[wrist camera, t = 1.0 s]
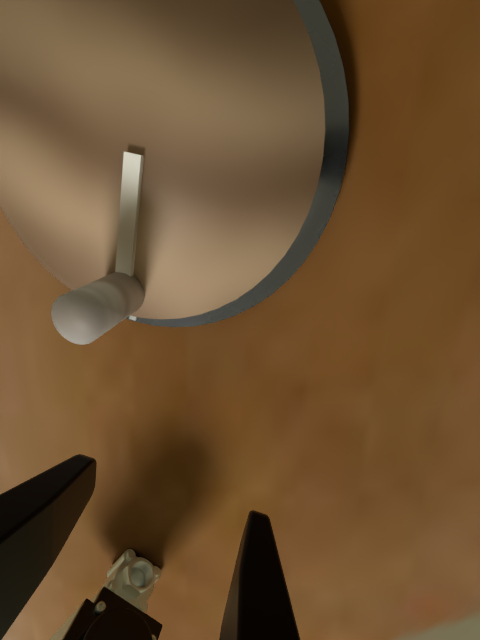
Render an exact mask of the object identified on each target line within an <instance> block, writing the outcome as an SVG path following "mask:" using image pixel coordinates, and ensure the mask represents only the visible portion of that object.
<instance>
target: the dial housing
mask: <svg viewBox="0 0 480 640" xmlns="http://www.w3.org/2000/svg"><path fill="white" fill-rule="evenodd" d="M293 2H294V3H295V5H296V7H297V9H298V11H299V13H300V15H301V18H302V20H303V22H304V25H305V27H306V29H307V31H308V34H309V36H310V39H311V42H312V46H313V49H314V53H315V56H316V59H317V63H318V66H319V71H320V77H321V83H322V89H323V96H324V110H325V140H324V152H323V161H322V166H321V171H320V176H319V181H318V186H317V189H316V192H315V195H314V198H313V201H312V204H311V207H310V210H309V213H308V215H307V217H306V219H305V221H304V223H303V225H302V227H301V229H300V231H299V234H298V235H297V237H296V239H295V240H294V242H293V243H292V245H291V246H290V248H289V249H288V251H287V252H286V254H285V256H284V257H283V258H282V259H281V260H280V261H279V263H278V264H277V265H276V266H275V267H274V268H273V270H272V271H271V272H270V273H269V274H268V275H267V276H266V277H265V278H264V279H262V280H261V281H260V282H259V283H258V284H257V285H256V286H255V287H254V288H252V289H251V290H249V291H248V292H246V293H245V294H243V295H242V296H240V297H239V298H237V299H236V300H234V301H232V302H230V303H228V304H226V305H224V306H222V307H220V308H218V309H215V310H212V311H209V312H206V313H203V314H200V315H196V316H190V317H185V318H179V319H149V318H139V317H135V316H128V317H127V318H126V319H129V320H132V321H135V322H140V323H145V324H150V325H155V326H167V327H186V326H197V325H203V324H208V323H214V322H217V321H220V320H223V319H226V318H229V317H232V316H235V315H237V314H239V313H241V312H243V311H245V310H247V309H249V308H251V307H253V306H255V305H256V304H258V303H259V302H261V301H262V300H264V299H265V298H267V297H268V296H270V295H271V294H272V293H274V292H275V291H276V290H277V289H278V288H279V287H280V286H282V285H283V284H284V283H285V282H286V281H287V280H288V279H289V278H290V277H291V276H292V275H293V274H294V273H295V272H296V270H297V269H298V268H299V267H300V266H301V265H302V264H303V262H304V261H305V260H306V258H307V257H308V255H309V254H310V252H311V251H312V249H313V248H314V246H315V245H316V243H317V242H318V240H319V238H320V236H321V234H322V232H323V230H324V228H325V226H326V225H327V223H328V221H329V219H330V216H331V214H332V211H333V208H334V205H335V202H336V200H337V197H338V194H339V191H340V187H341V183H342V178H343V174H344V169H345V165H346V158H347V148H348V138H349V104H348V94H347V87H346V80H345V73H344V67H343V64H342V60H341V56H340V53H339V49H338V46H337V42H336V38H335V35H334V33H333V30H332V28H331V26H330V23H329V21H328V19H327V16H326V14H325V11H324V9H323V7H322V5H321V3H320V1H319V0H293Z"/></svg>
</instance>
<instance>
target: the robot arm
mask: <svg viewBox="0 0 480 640" xmlns="http://www.w3.org/2000/svg"><path fill="white" fill-rule="evenodd" d="M95 480H96V460H95V459H94V458H91V457H88V456H85V455H81V454H79V455H75V456H73V457H71V458H70V459H68V460H66V461H64V462H62V463H60V464H58V465H56V466H54V467H52V468H50V469H48V470H46V471H45V472H43V473H41V474H39V475H37V476H35V477H33V478H31V479H29V480H27V481H25V482H23V483H22V484H20V485H18V486H16V487H14V488H12V489H10V490H8V491H6V492H4V493H2V494H0V640H1V639H2V638H3V637H4V635H5V634H6V632H7V631H8V629H9V628H10V626H11V625H12V623H13V622H14V621H15V619H16V618H17V616H18V615H19V613H20V612H21V610H22V609H23V607H24V606H25V605H26V603H27V602H28V600H29V599H30V597H31V596H32V594H33V593H34V592H35V590H36V589H37V587H38V586H39V584H40V583H41V581H42V580H43V578H44V577H45V576H46V574H47V572H48V571H49V569H50V568H51V566H52V565H53V563H54V562H55V560H56V558H57V556H58V555H59V553H60V551H61V549H62V548H63V546H64V544H65V542H66V541H67V539H68V537H69V535H70V533H71V532H72V530H73V528H74V526H75V524H76V523H77V521H78V519H79V517H80V516H81V514H82V512H83V510H84V508H85V507H86V505H87V503H88V501H89V499H90V498H91V496H92V494H93V491H94V488H95ZM219 640H300V637H299V633H298V629H297V625H296V621H295V617H294V613H293V609H292V605H291V601H290V597H289V593H288V589H287V586H286V582H285V578H284V574H283V570H282V566H281V562H280V558H279V554H278V550H277V546H276V542H275V538H274V534H273V530H272V526H271V522H270V519H269V517H268V516H267V515H266V514H263V513H260V512H257V511H250V513H249V515H248V519H247V522H246V525H245V529H244V532H243V536H242V539H241V543H240V547H239V552H238V556H237V560H236V564H235V569H234V573H233V577H232V582H231V586H230V590H229V594H228V599H227V603H226V607H225V611H224V616H223V621H222V626H221V633H220V639H219Z"/></svg>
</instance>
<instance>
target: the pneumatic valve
mask: <svg viewBox="0 0 480 640" xmlns="http://www.w3.org/2000/svg"><path fill="white" fill-rule="evenodd" d="M107 576H108V579H107V580H106V581H105V583H104V584H103V586H102V587H101V590H100V591H99V592H98V593H97V595H96V596H95V597H94V598H93V599H92V600H91V601H90V600H88V599H86V600H85V601H84V602H83V603H82V604H81V605H80V606H79V607H78V609H77V610H76V611H75V612H74V613H73V614H72V615H71V616H70V618H69V619H68V620H67V621H66V622H65V623H64V624H63V625H62V627H61V628H60V629H59V630H58V631H57V632H56V633H55V634H54V636H53V637H52V638H51V639H50V640H158V637H159V635H160V632H161V629H162V624H160V623H159V622H157V621H156V620H154V619H153V618H151V617H150V616H148V615H147V614H145V612H146V611H147V608H148V604H147V600H148V598H149V597H150V595H151V593H152V591H153V588H154V583H155V582H156V581H157V580H158V579H159V578H160V576H161V571H160V569H159V568H158V567H157V566H153V565H152V564H151V562H149V561H148V560H147V559H145V558H142V557H136V554H135V552H134V551H133V550H132V549H127V550H126V551H125V552H124V553H123V554H122V555H121V557H120V558H119V559H118V560H117V561H116V562H115V563H114V564H113V566H112V567H111V568H110V569H109V570H108V573H107Z"/></svg>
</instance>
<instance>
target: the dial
mask: <svg viewBox="0 0 480 640" xmlns="http://www.w3.org/2000/svg"><path fill="white" fill-rule="evenodd" d="M324 140H325V110H324V96H323V89H322V83H321V77H320V71H319V66H318V63H317V59H316V56H315V53H314V49H313V46H312V42H311V39H310V36H309V34H308V31H307V29H306V27H305V25H304V22H303V20H302V18H301V15H300V13H299V11H298V9H297V7H296V5H295V3H294V2H293V0H0V207H1V209H2V210H3V212H4V214H5V216H6V218H7V220H8V221H9V223H10V225H11V226H12V228H13V229H14V231H15V232H16V234H17V235H18V237H19V238H20V240H21V241H22V243H23V244H24V245H25V246H26V248H27V249H28V250H29V251H30V252H31V254H32V255H33V256H34V257H35V258H36V259H37V261H38V262H39V263H40V264H41V265H42V266H43V267H45V268H46V269H47V270H48V271H49V272H50V273H51V274H52V275H53V276H54V277H55V278H57V279H58V280H59V281H60V282H62V283H63V284H64V285H65V286H67V287H68V288H69V289H71V290H72V291H70V292H68V293H66V294H63V295H61V296H59V297H58V298H57V299H56V300H55V301H54V303H53V306H52V310H51V315H52V320H53V323H54V326H55V327H56V329H57V330H58V332H59V333H60V334H61V335H62V336H63V337H64V338H65V339H67V340H68V341H70V342H73V343H76V344H88V343H91V342H93V341H94V340H96V339H97V338H98V337H100V336H101V335H103V334H104V333H105V332H107V331H108V330H110V329H111V328H113V327H114V326H115V325H117V324H118V323H120V322H121V321H123V320H124V319H125V318H127V317H128V316H135V317H139V318H149V319H179V318H185V317H190V316H196V315H200V314H203V313H206V312H209V311H212V310H215V309H218V308H220V307H222V306H224V305H226V304H228V303H230V302H232V301H234V300H236V299H237V298H239V297H240V296H242V295H243V294H245V293H246V292H248V291H249V290H251V289H252V288H254V287H255V286H256V285H257V284H258V283H259V282H260V281H261V280H262V279H264V278H265V277H266V276H267V275H268V274H269V273H270V272H271V271H272V270H273V268H274V267H275V266H276V265H277V264H278V263H279V261H280V260H281V259H282V258H283V257H284V256H285V254H286V252H287V251H288V249H289V248H290V246H291V245H292V243H293V242H294V240H295V239H296V237H297V235H298V234H299V231H300V229H301V227H302V225H303V223H304V221H305V219H306V217H307V215H308V213H309V210H310V207H311V204H312V201H313V198H314V195H315V192H316V189H317V186H318V181H319V176H320V171H321V166H322V161H323V152H324Z"/></svg>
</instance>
